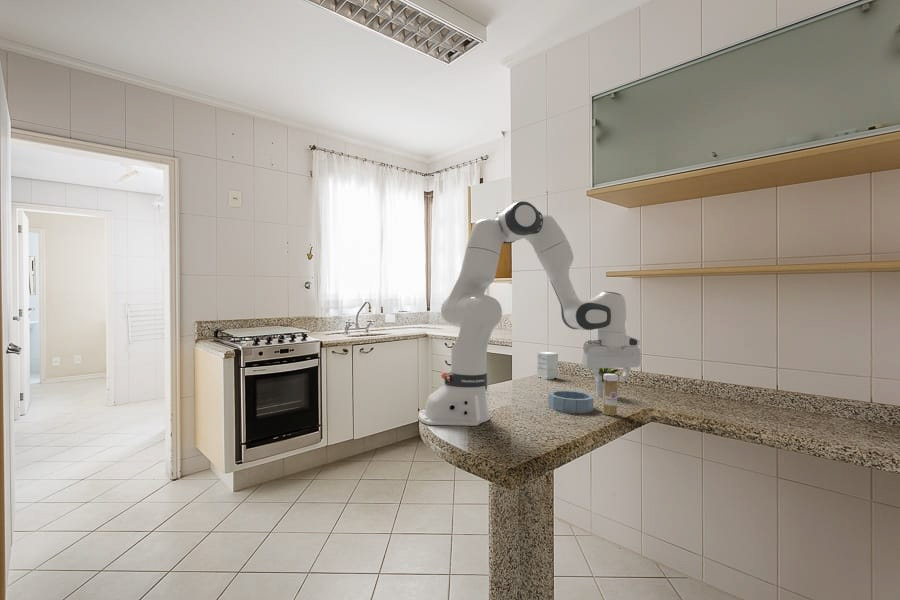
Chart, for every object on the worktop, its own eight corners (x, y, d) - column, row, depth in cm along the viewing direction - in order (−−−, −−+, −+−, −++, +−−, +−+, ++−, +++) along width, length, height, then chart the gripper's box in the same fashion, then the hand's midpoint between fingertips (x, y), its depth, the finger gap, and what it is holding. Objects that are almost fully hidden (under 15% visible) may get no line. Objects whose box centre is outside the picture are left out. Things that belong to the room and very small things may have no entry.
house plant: (583, 398, 164) (584, 356, 165) (581, 391, 178) (582, 352, 178) (622, 401, 161) (623, 358, 161) (617, 394, 174) (618, 354, 174)
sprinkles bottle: (609, 416, 138) (610, 375, 138) (599, 413, 142) (600, 373, 142) (620, 415, 140) (621, 375, 140) (610, 412, 144) (611, 372, 144)
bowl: (561, 413, 140) (561, 400, 140) (542, 403, 155) (542, 390, 155) (601, 412, 143) (601, 399, 143) (579, 402, 158) (579, 390, 158)
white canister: (547, 376, 213) (548, 351, 214) (558, 378, 207) (558, 353, 207) (536, 377, 210) (537, 352, 210) (546, 379, 203) (547, 353, 203)
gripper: (588, 341, 136) (588, 383, 136) (644, 340, 140) (643, 381, 141) (578, 339, 142) (578, 380, 142) (632, 338, 147) (631, 378, 147)
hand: (611, 381), depth 141 cm, fingers open, 8 cm apart
